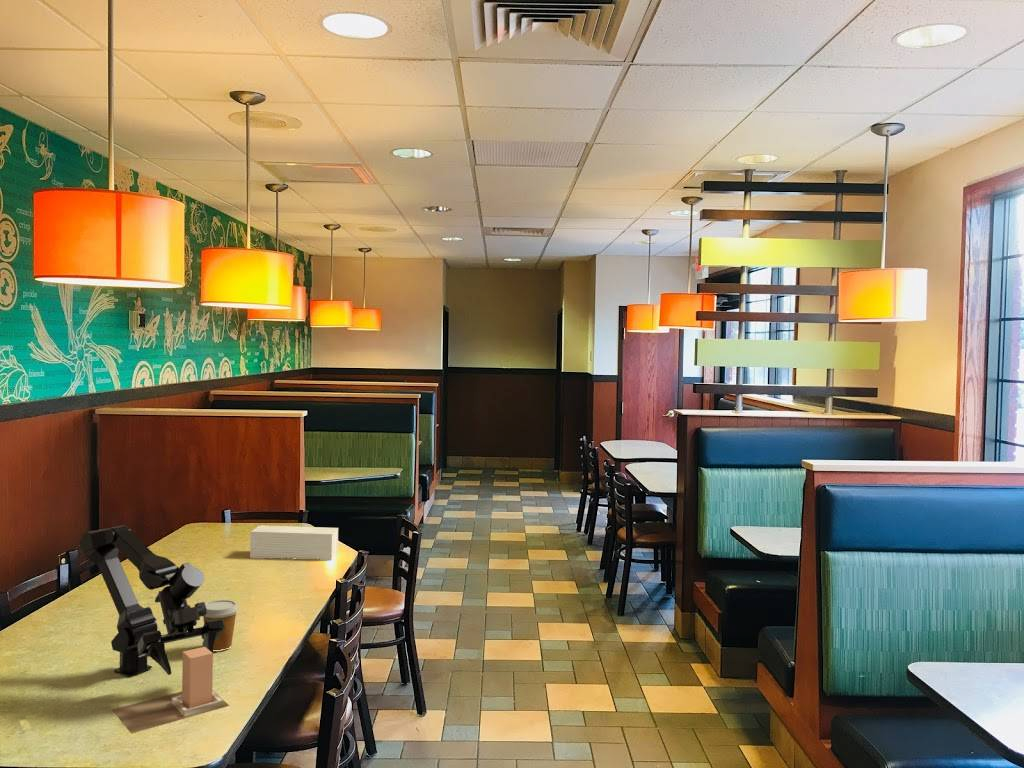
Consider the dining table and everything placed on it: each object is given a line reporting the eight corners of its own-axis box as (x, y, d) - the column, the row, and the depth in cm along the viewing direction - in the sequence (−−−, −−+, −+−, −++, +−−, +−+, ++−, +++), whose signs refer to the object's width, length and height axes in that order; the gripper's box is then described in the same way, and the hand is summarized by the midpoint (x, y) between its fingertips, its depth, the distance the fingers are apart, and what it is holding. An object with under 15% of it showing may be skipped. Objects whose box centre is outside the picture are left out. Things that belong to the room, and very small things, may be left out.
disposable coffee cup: (241, 641, 220) (242, 599, 220) (230, 654, 211) (231, 610, 210) (207, 641, 220) (208, 598, 220) (195, 654, 211) (195, 610, 210)
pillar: (182, 703, 179) (182, 651, 179) (203, 697, 183) (204, 646, 182) (189, 711, 176) (190, 658, 175) (212, 704, 179) (212, 653, 178)
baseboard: (112, 713, 176) (112, 704, 175) (206, 688, 190) (206, 680, 190) (131, 737, 165) (131, 727, 165) (229, 709, 179) (229, 700, 179)
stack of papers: (337, 554, 317) (338, 527, 317) (331, 561, 307) (332, 534, 306) (258, 551, 317) (259, 525, 317) (249, 558, 307) (250, 531, 306)
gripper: (142, 599, 179) (156, 662, 171) (223, 585, 191) (240, 643, 183) (131, 623, 185) (144, 685, 177) (210, 608, 197) (226, 665, 190)
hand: (190, 669), depth 182 cm, fingers open, 9 cm apart
